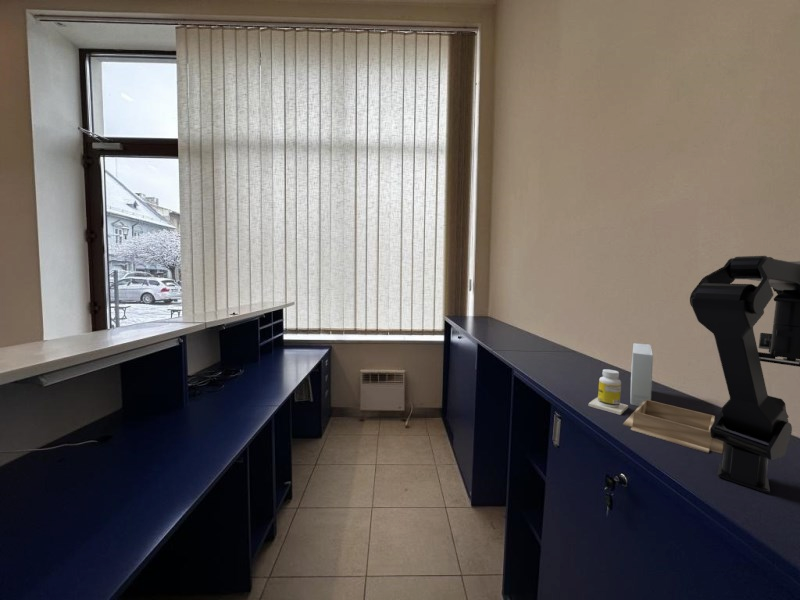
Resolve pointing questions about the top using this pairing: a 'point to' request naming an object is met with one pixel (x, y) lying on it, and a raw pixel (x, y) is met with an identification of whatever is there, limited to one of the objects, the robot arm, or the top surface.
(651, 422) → the light brown piece
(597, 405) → the tile
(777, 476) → the top surface
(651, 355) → the skincare box
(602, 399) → the supplement bottle
